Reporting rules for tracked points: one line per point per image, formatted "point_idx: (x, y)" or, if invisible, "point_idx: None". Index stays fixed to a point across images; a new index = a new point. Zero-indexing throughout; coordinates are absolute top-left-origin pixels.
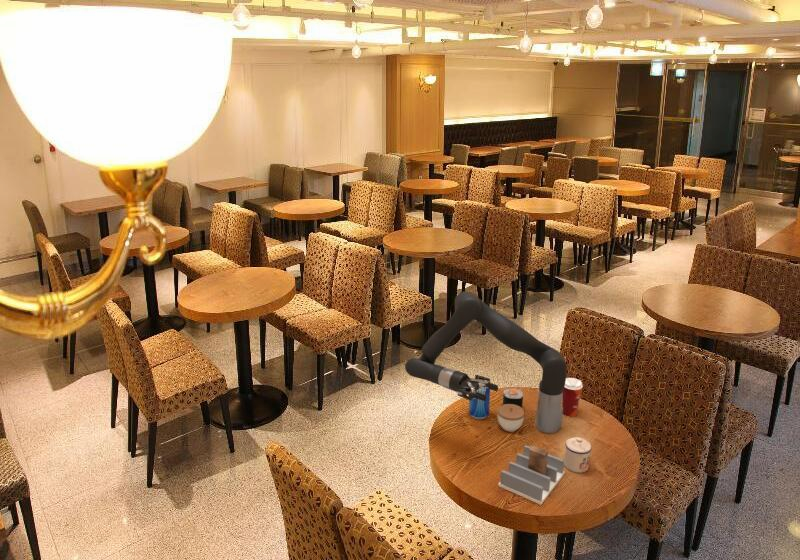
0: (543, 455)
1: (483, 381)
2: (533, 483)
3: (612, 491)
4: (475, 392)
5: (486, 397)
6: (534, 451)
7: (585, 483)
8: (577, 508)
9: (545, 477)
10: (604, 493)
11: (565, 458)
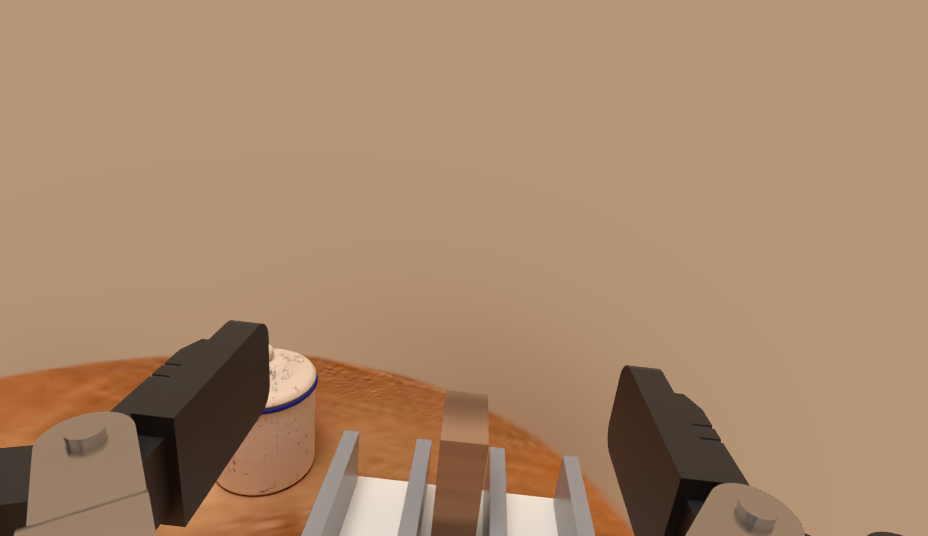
0: (487, 399)
1: (92, 508)
2: (572, 485)
3: (369, 378)
4: (749, 492)
5: (617, 391)
6: (487, 426)
7: (365, 427)
8: (501, 428)
9: (501, 459)
10: (389, 389)
11: (281, 460)
